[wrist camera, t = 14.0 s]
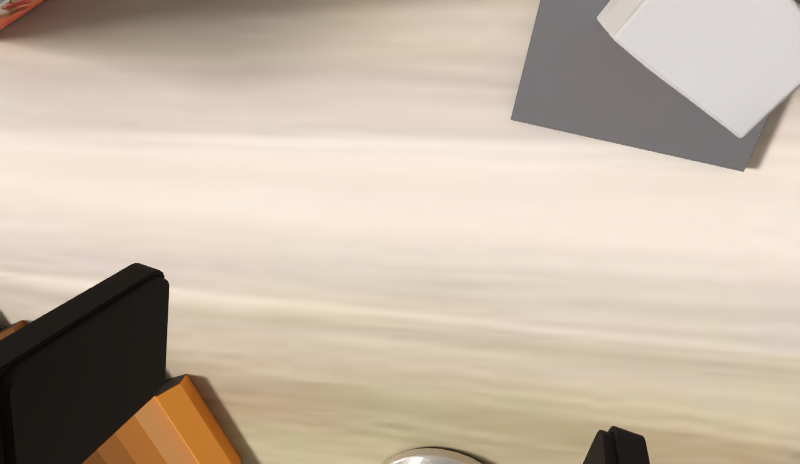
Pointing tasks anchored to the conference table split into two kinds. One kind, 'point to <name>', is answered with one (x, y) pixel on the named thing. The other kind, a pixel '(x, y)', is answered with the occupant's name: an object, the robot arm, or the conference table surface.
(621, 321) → the conference table surface
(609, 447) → the robot arm
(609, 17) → the skincare box
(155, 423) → the pan flute
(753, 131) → the mat
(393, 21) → the conference table surface
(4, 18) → the cracker box
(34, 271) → the conference table surface
